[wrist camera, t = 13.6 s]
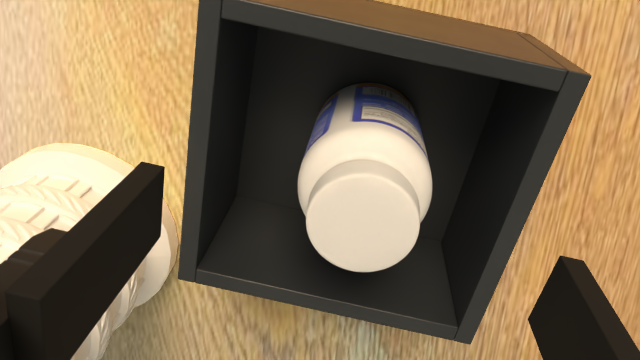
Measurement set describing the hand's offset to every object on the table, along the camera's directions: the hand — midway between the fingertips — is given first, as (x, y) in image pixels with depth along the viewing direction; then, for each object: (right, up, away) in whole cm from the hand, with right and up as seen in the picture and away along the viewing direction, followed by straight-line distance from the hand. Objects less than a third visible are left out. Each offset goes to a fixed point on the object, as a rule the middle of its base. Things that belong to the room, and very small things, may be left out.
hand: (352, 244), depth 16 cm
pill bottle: (+1, +5, +10) cm, 11 cm away
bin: (+1, +5, +10) cm, 11 cm away
